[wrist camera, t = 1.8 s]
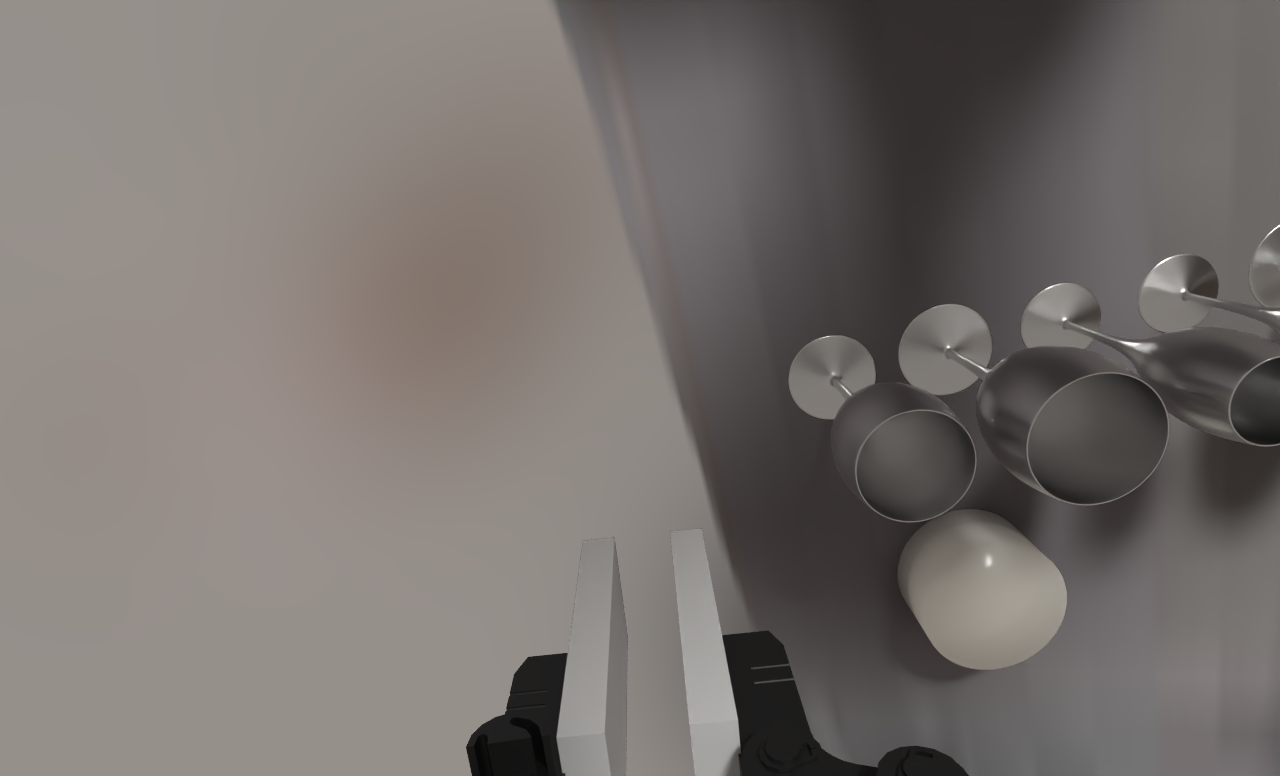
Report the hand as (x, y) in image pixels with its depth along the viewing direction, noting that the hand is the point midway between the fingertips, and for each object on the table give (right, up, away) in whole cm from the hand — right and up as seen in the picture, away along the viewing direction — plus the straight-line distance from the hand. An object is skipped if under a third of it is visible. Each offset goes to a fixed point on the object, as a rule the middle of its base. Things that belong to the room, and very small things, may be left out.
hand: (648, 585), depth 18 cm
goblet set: (+21, +8, +19) cm, 30 cm away
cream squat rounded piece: (+17, -5, +23) cm, 29 cm away
